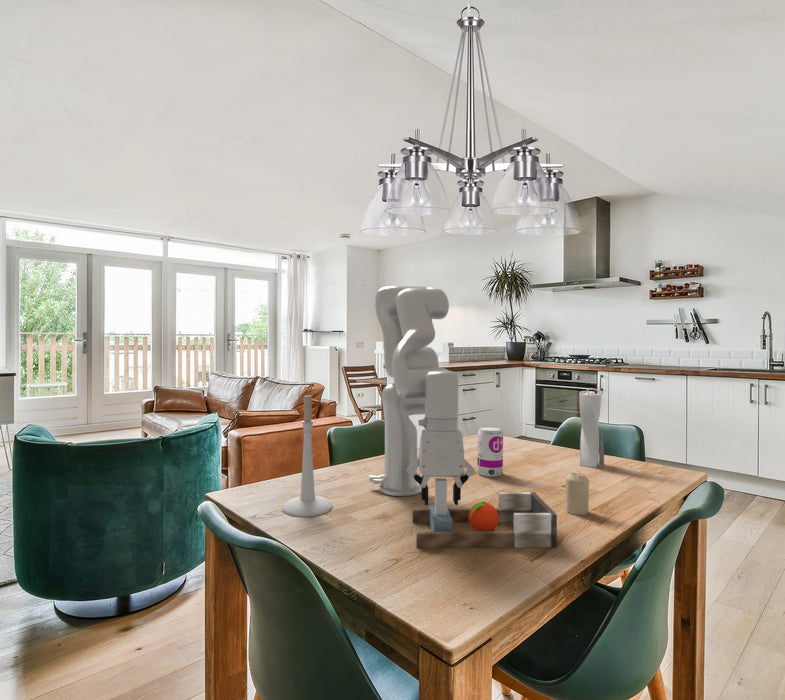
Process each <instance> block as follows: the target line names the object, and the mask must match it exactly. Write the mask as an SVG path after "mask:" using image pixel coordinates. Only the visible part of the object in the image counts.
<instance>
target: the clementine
mask: <svg viewBox="0 0 785 700" xmlns="http://www.w3.org/2000/svg"><path fill="white" fill-rule="evenodd" d="M469 509H470V511H469V516H468V519H469V526H471V528H472V529H473V531H496V529H497V527H498V525H499V523H500V522H499V516H498V512H497V510H496V509H497V508H495V506H494V505H492V504H491V503H489V502H487V501H486V502H485V501H479V502H477V503H475V504H473V505H472V507H471V508H469Z"/></svg>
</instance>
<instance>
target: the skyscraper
mask: <svg viewBox="0 0 785 700" xmlns="http://www.w3.org/2000/svg"><path fill="white" fill-rule="evenodd" d="M590 390H593V391H590ZM596 391H597V392H598V393H596ZM578 394H579V397H578V398H579V401H578V402H579V414H580V415H579V416H580V422H581V423H580V424H581V429H580V443H579V444H580V445H579V466H580V467H584V468H592V469H600V470H602V469H603V468H604V466H605V447H604V446H605V442H604V432H603V429H601V434H600V433H599V425H598V424H599V419H600V416H601V415H600V414H601V407H602V405H601V404H602V393H601V391H600V390H599V389H597V388H594V387H589V388H587V389H586V390H583V391H579V393H578Z"/></svg>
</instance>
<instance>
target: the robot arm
mask: <svg viewBox="0 0 785 700" xmlns="http://www.w3.org/2000/svg"><path fill="white" fill-rule="evenodd" d="M375 294H376V295H375V301H374V302H375V304H374V305H375V312H376V316H377V320H378V323H379V324H380V327H381V331H382V336H383V352H384V353H383V354H384V366H385V367H384V368H385V372H386V374H387V375H388V377H390V378H393V382H392V383H390V384H387V385H386V386H384V388H383V390H382V392H381V403H382V409H383V417H384V472H383V474H380V475H369V483H372V484H374V485H377V484H378V485H379V486H378V487H379V488H378V489H379V491H380V492H381V493H382V494H385V495H388V496H394V497H408V496H409V497H410V496H411V497H412V496H414V495H418V494H420V495H421V501H423V502H424V506H428V505H429V485H428V482H429V480H430V478H447V477H448V478H453V479H454V482H453V483H454V484H453V485H452V501H453V503H454V505H455V506H458V505H459V501H461V498H462V496H461V494H462V493H461V491H462V487H463V485H464V484H466V482H467V481H468V480H469V478H471V477H472V476H473V475H474V473H475V472H476V469H475V467H473V466H472V465H471V463H470V462H469V461H468V460H466V459H465V449H464V438H463V432H462V431H461V430H459V376H458V374H457V373H456V371H452V370H448V369H447V368H444V367H440V366H439V364H440V363H439V357H438V355H437V353H436V351H435V349H434V348H432V347H430V346H429V345H431V344H432V342H433V341H434V340H435V337H436V330H435V326H434V324H433V320H442V319H445V318H446V317H447V315H448V313H449V308H450V303H449V298H448V296H447V294H446V292H445V291H444V290H443V289H440V288H436V287H433V286H432V287H430V286H419V285H418V286H415V285H414V286H411V285H386V286H382V287H381V288H379V289H378V290H377V292H376V293H375ZM414 415H424V418H422V419H418V426H420V427H423V428H424V429H422V430H421V434H420V440H419V449H418V429H417V426H416V425H415V423H413V421H412V420H411V419H410V416H414ZM465 469H466V470H465ZM418 470H419V473H420V474H421V475H420V474H419V473H418Z"/></svg>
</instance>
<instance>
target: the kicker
mask: <svg viewBox="0 0 785 700" xmlns="http://www.w3.org/2000/svg"><path fill="white" fill-rule="evenodd" d="M447 490H448V479H447V477H434V505H429V509H430V523H429V526H430V529H431V531H453V523H452V518H451V516H450V513H449V510H448V509H449V508H448V504H447V503H448V501H447V499H448V498H447V497H448V491H447Z"/></svg>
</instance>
